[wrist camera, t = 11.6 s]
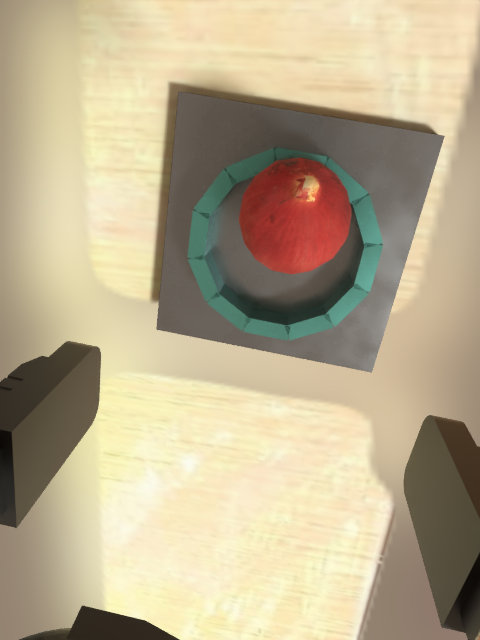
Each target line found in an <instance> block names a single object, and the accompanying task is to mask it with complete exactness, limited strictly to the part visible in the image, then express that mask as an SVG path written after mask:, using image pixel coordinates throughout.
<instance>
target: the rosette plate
mask: <svg viewBox="0 0 480 640" xmlns="http://www.w3.org/2000/svg"><path fill="white" fill-rule="evenodd" d="M443 139H444V136H442V135H436V134H430V133H424V132H418V131H412V130H406V129H400V128H394V127H388V126H382V125H376V124H370V123H364V122H358V121H352V120H346V119H340V118H335V117H329V116H323V115H317V114H311V113H305V112H299V111H293V110H287V109H281V108H275V107H269V106H263V105H257V104H251V103H245V102H239V101H233V100H227V99H221V98H215V97H209V96H203V95H197V94H191V93H185V92H179V93H178V104H177V114H176V125H175V136H174V147H173V157H172V168H171V179H170V190H169V200H168V211H167V222H166V233H165V243H164V254H163V265H162V276H161V286H160V297H159V308H158V319H157V330H162V331H167V332H172V333H177V334H182V335H187V336H192V337H197V338H202V339H207V340H212V341H217V342H222V343H227V344H232V345H237V346H243V347H247V348H252V349H257V350H262V351H267V352H272V353H277V354H282V355H287V356H292V357H297V358H303V359H307V360H313V361H317V362H323V363H327V364H333V365H337V366H342V367H348V368H353V369H357V370H363V371H367V372H372V370H373V367H374V364H375V360H376V357H377V354H378V350H379V347H380V344H381V341H382V337H383V334H384V331H385V328H386V325H387V321H388V318H389V315H390V312H391V308H392V305H393V302H394V299H395V295H396V292H397V289H398V286H399V282H400V279H401V276H402V273H403V269H404V266H405V263H406V260H407V256H408V253H409V250H410V247H411V243H412V240H413V237H414V234H415V230H416V227H417V224H418V221H419V217H420V214H421V211H422V208H423V204H424V201H425V198H426V195H427V191H428V188H429V185H430V182H431V178H432V175H433V172H434V169H435V165H436V162H437V159H438V156H439V152H440V149H441V146H442V143H443ZM299 157H301V158H305V159H309V160H313V161H318V162H321V163H322V164H323V165H325V166H326V167H327V168H329V169H330V170H332V171H333V172H334V173H335V174H336V175H337V176H338V178H339V179H340V181H341V182H342V184H343V185H344V187H345V188H346V190H347V192H348V197H349V201H350V206H351V221H350V227H349V233H348V237H347V239H346V241H345V242H344V244H343V245H342V246H341V248H340V249H339V251H338V252H337V253H336V255H335V256H334V258H332V259H331V260H329V261H327V262H326V263H324V264H322V265H320V266H319V267H317V268H315V269H314V270H312V271H309V272H303V273H297V274H287V273H282V272H277V271H272V270H270V269H269V268H267V267H266V266H265V265H263V264H262V263H260V262H259V261H257V260H256V259H255V258H254V256H253V255H252V254H251V252H250V251H249V249H248V248H247V246H246V245H245V243H244V240H243V236H242V232H241V228H240V224H239V215H240V210H241V204H242V198H243V194H244V193H245V191H246V189H247V188H248V186H249V185H250V183H251V181H252V180H253V178H254V177H255V176H256V175H257V174H259V173H260V172H261V171H263V170H264V169H266V168H267V167H268V166H270V165H271V164H273V163H274V162H275V161H278V160H285V159H292V158H299Z"/></svg>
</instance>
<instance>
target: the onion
mask: <svg viewBox="0 0 480 640" xmlns="http://www.w3.org/2000/svg"><path fill="white" fill-rule="evenodd" d="M350 221H351V206H350V201H349V197H348V192H347V190H346V188H345V187H344V185H343V184H342V182H341V181H340V179H339V178H338V176H337V175H336V174H335V173H334V172H333V171H332V170H330V169H329V168H327V167H326V166H325V165H323V164H322V163H321V162H318V161H313V160H309V159H305V158H301V157H299V158H292V159H285V160H278V161H275V162H274V163H273V164H271V165H270V166H268V167H267V168H266V169H264V170H263V171H261V172H260V173H259V174H257V175H256V176H255V177H254V178H253V180H252V181H251V183H250V185H249V186H248V188H247V189H246V191H245V193H244V194H243V198H242V204H241V210H240V215H239V224H240V228H241V232H242V236H243V240H244V243H245V245H246V246H247V248H248V249H249V251H250V252H251V254H252V255H253V256H254V258H255V259H256V260H257V261H259V262H260V263H262V264H263V265H265V266H266V267H267V268H269V269H270V270H272V271H277V272H282V273H287V274H297V273H303V272H309V271H312V270H314V269H315V268H317V267H319V266H320V265H322V264H324V263H326V262H327V261H329V260H331V259H332V258H334V256H335V255H336V253H337V252H338V251H339V249H340V248H341V246H342V245H343V244H344V242H345V241H346V239H347V237H348V233H349V227H350Z"/></svg>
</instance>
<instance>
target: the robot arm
mask: <svg viewBox="0 0 480 640" xmlns="http://www.w3.org/2000/svg"><path fill="white" fill-rule="evenodd" d="M100 365H101V352H100V349H99V348H98V347H96V346H91V345H86V344H81V343H76V342H71V341H67V342H65V343H64V344H63V345H62V346H61V347H60V348H59V349H57V350H56V351H55V352H54V353H53V354H52V355H51V356H49V357H45V356H41V357H38V358H36V359H33V360H31V361H29V362H26V363H24V364H21V365H20V366H19V367H18V368H17V369H15V370H14V371H13V372H12V373H10V374H9V375H8V377H7V378H5V379H3V380H2V381H1V382H0V524H2V525H7V526H11V527H15V528H17V527H18V525H19V524H20V523H21V521H22V520H23V518H24V517H25V516H26V514H27V513H28V512H29V510H30V509H31V507H32V506H33V505H34V503H35V502H36V501H37V499H38V498H39V496H40V495H41V494H42V492H43V491H44V490H45V488H46V487H47V485H48V484H49V483H50V481H51V480H52V478H53V477H54V476H55V474H56V473H57V472H58V470H59V469H60V468H61V466H62V465H63V463H64V462H65V461H66V459H67V458H68V457H69V455H70V454H71V452H72V451H73V450H74V448H75V447H76V446H77V444H78V443H79V441H80V440H81V439H82V437H83V436H84V435H85V433H86V432H87V430H88V429H89V428H90V426H91V425H92V423H93V421H94V419H95V416H96V413H97V410H98V405H99V392H100V367H101V366H100ZM404 492H405V496H406V500H407V504H408V507H409V511H410V515H411V518H412V522H413V525H414V529H415V532H416V536H417V540H418V543H419V547H420V550H421V554H422V557H423V561H424V565H425V569H426V572H427V576H428V579H429V583H430V587H431V590H432V594H433V598H434V601H435V605H436V608H437V612H438V616H439V619H440V623H441V626H442V627H443V628H447V629H451V630H456V631H460V632H464V633H466V635H467V638H468V640H480V447H478V446H477V445H476V444H475V442H474V440H473V438H472V436H471V434H470V433H469V431H468V429H467V427H466V426H465V424H464V423H463V422H461V421H456V420H452V419H447V418H442V417H437V416H432V415H429V416H427V417H426V418H425V420H424V422H423V424H422V426H421V429H420V431H419V434H418V437H417V439H416V442H415V445H414V447H413V450H412V453H411V455H410V458H409V461H408V463H407V466H406V469H405V474H404ZM20 640H179V639H177V638H176V637H174V636H172V635H170V634H168V633H167V632H165V631H163V630H161V629H159V628H158V627H156V626H154V625H152V624H151V623H149V622H147V621H145V620H141V619H136V618H132V617H128V616H124V615H120V614H115V613H111V612H107V611H103V610H99V609H94V608H90V607H86V606H82V607H81V609H80V611H79V613H78V615H77V618H76V620H75V622H74V624H73V626H72V628H66V629H57V630H51V631H45V632H41V633H38V634H34V635H31V636H27V637H25V638H22V639H20Z"/></svg>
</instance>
